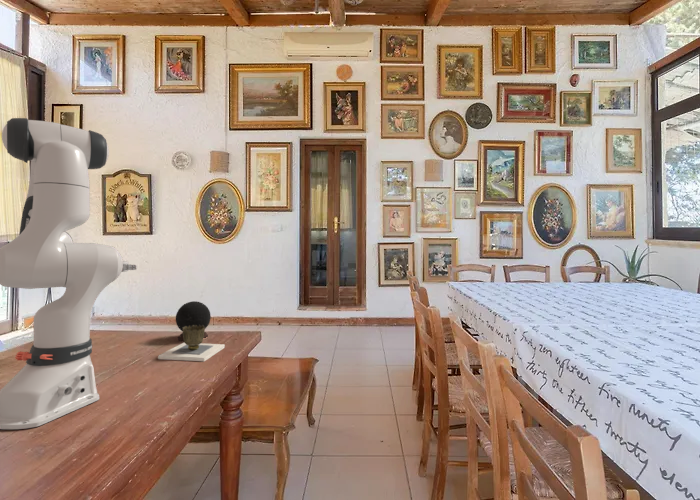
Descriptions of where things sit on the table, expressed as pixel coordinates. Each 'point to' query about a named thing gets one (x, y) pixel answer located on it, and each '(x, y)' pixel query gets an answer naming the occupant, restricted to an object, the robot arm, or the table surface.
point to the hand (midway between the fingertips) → (129, 268)
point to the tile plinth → (191, 352)
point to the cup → (193, 336)
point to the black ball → (192, 316)
